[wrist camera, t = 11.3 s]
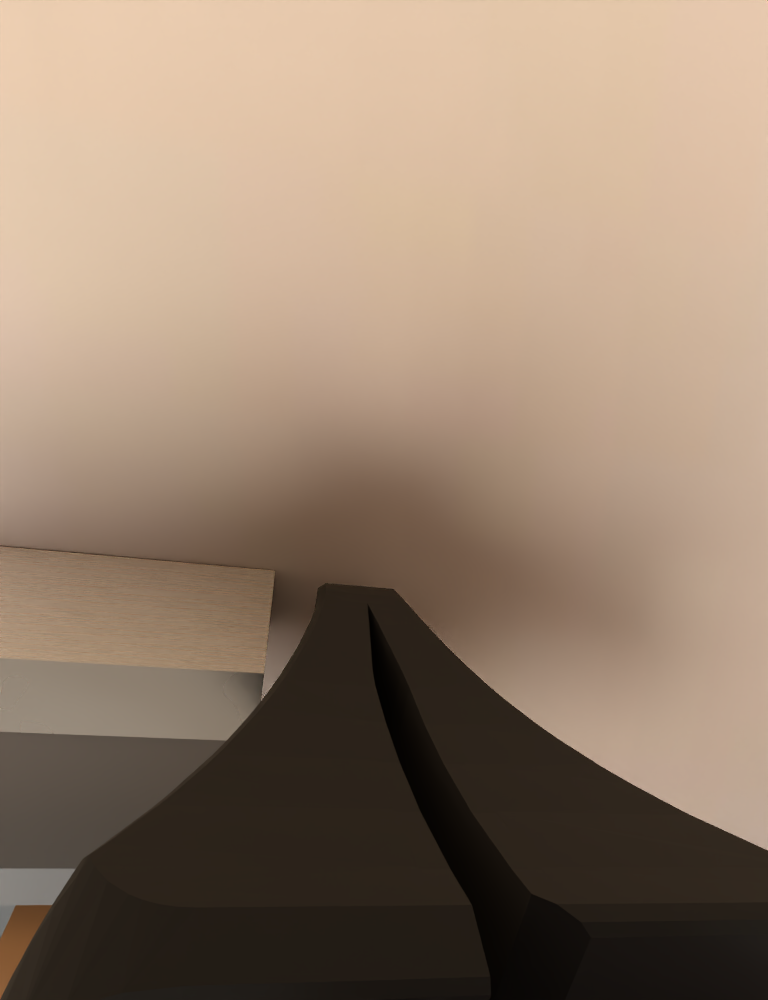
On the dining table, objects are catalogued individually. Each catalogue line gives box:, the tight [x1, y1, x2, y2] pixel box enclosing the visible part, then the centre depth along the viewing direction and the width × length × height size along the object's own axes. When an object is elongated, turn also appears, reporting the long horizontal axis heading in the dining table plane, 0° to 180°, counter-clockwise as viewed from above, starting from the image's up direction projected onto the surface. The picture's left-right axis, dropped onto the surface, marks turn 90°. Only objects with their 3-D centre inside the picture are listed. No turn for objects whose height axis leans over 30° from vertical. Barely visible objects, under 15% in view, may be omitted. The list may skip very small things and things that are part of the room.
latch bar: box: [0, 546, 275, 741], centre depth 9 cm, size 6×1×3 cm, turn 81°
